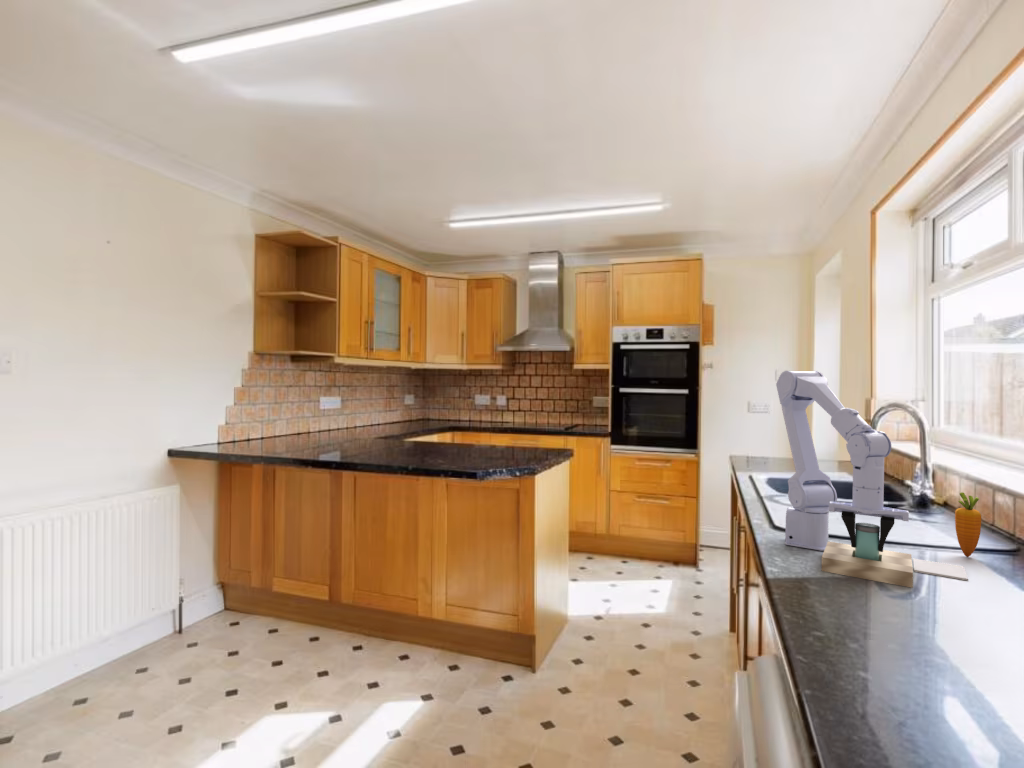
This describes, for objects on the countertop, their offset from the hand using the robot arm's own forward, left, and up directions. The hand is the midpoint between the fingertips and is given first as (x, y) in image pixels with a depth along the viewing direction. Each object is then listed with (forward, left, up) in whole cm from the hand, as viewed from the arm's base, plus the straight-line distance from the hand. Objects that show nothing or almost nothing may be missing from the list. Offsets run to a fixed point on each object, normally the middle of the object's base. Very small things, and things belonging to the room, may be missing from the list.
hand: (867, 548), depth 119 cm
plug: (0, 0, -4) cm, 4 cm away
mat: (+13, +9, -5) cm, 16 cm away
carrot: (+19, +24, -5) cm, 31 cm away
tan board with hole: (0, 0, -5) cm, 5 cm away
